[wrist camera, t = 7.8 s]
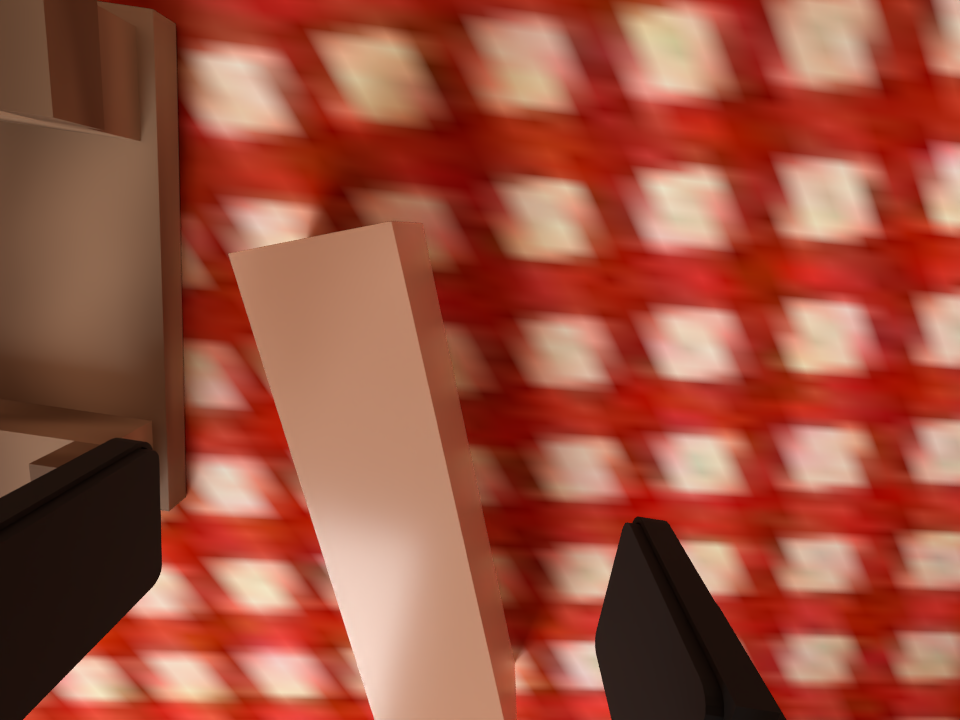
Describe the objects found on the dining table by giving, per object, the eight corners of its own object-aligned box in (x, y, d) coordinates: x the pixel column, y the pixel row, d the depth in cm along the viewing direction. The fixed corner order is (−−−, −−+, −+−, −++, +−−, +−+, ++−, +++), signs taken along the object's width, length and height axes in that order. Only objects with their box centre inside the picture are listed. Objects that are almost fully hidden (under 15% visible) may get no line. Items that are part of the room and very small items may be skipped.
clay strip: (423, 223, 16) (391, 221, 11) (514, 657, 20) (519, 789, 16) (307, 246, 16) (228, 253, 11) (422, 668, 21) (400, 800, 16)
